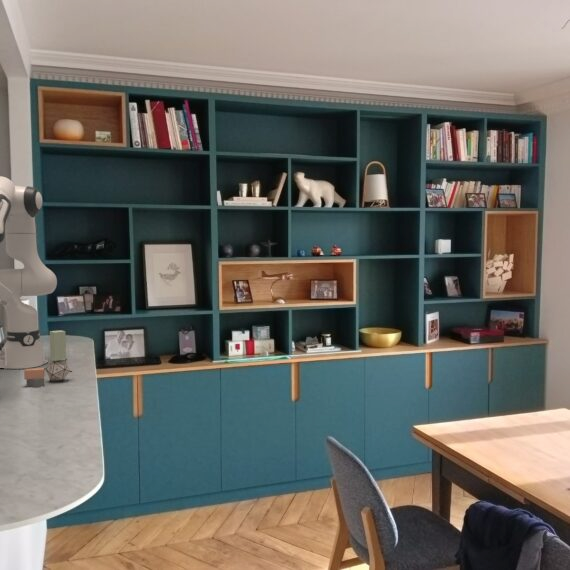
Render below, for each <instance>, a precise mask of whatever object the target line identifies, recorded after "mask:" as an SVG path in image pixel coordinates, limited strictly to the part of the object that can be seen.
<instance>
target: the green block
mask: <svg viewBox="0 0 570 570" xmlns="http://www.w3.org/2000/svg"><path fill="white" fill-rule="evenodd" d="M66 340H67V339H66V331H65V330H52V331H49V354H50V355H49V356H50V357H49V358H50V360H52V361H53V360H54V361H58V360H65V359H67V341H66Z"/></svg>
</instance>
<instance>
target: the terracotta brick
mask: <svg viewBox="0 0 570 570" xmlns="http://www.w3.org/2000/svg"><path fill="white" fill-rule="evenodd" d="M44 368H45V367H38V368H37V367H32V368H24V371H23V372H24V373H23V374H24V375H23V377H24V380H26V379H40V378H44V379H45V377H46V375H45V372H46V371H45V370H44Z"/></svg>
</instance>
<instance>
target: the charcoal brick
mask: <svg viewBox="0 0 570 570" xmlns="http://www.w3.org/2000/svg"><path fill="white" fill-rule="evenodd" d="M25 380H26V386H27V385H28V386H27V387H31V386H32V387H31V388H34V387H38V388H42V387H41V386H43V387H45V377H44V378H40V379H25Z"/></svg>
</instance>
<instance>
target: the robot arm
mask: <svg viewBox="0 0 570 570" xmlns="http://www.w3.org/2000/svg"><path fill="white" fill-rule="evenodd" d="M42 208H43V195H42V193H41V191H40V190H39V188H36V187H33V186H22V185H21V186H20V185H15V183H14V182H13V181H12V180H11V179H9V178H8V177H5V176H2V175H0V244H1V243H2V242H3V241H4V239H5V253H6V254H7V256H9V257H10V258H11V259H14V260H16V261H18V262H21V264H23V268H3V269H0V304H1V305H2V306H3V307H4V310H5V313H6V317H7V318H6V319H7V332H6V341H5V343H4V345H3V347H2V348H1V350H0V357H1V358H0V368H4V369H3V370H5V369H12V370H13V369H15V370H16V369H17V370H19V369H22V370H23V369H32V368H37V367H40V366H42V365H44V364H48V363H49V359H45V349H44V347H45V346H44V343H43V342H42V341H41V340H40V338H41V337H40V335H41V333H40V329H39V312H38V311H37V309H36V308H35V307H34V306H31V305H29V304H27V303H25V302H23V301H22V299H21V298H22V297H34V296H35V297H39V296H46V295H49V294H52V293H54V291H55V290H56V288H57V285H58V279H57V276H56V274H55V272H53V271H52V270H51V269H50V268H48V267H47V266H46V265H45V264H44V263H43V262H42V260H41V258H40V256H39V252H38V246H37V245H38V244H37V230H36V229H37V227H36V220H35V217H36V215H37V214H39V212H40V211H41V209H42ZM47 362H48V363H47Z"/></svg>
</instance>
